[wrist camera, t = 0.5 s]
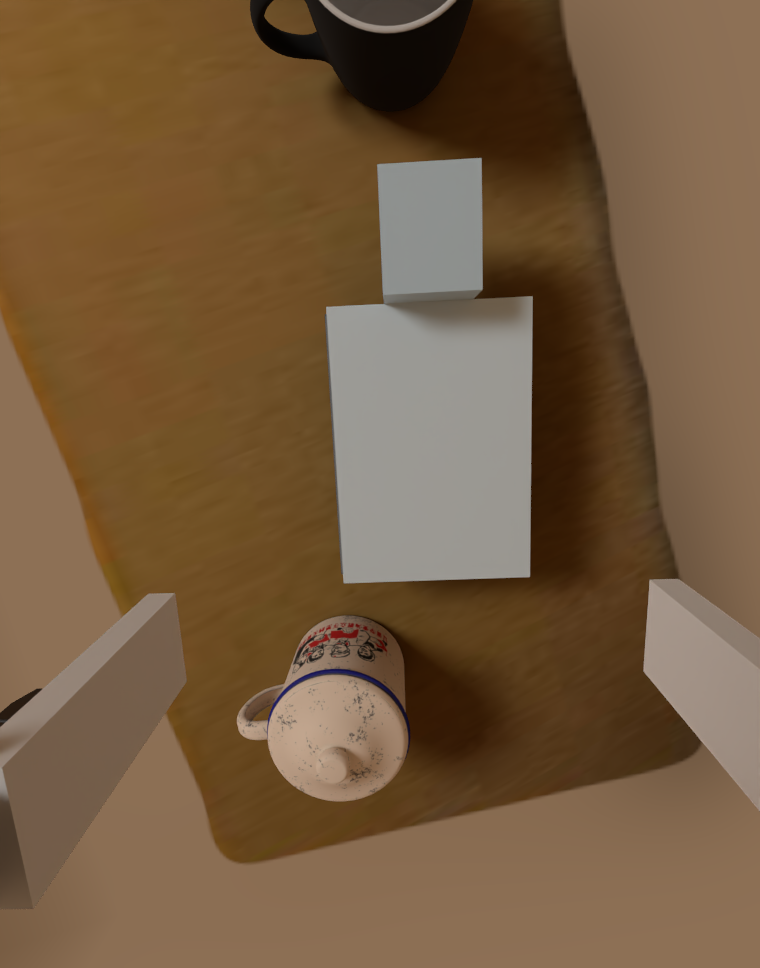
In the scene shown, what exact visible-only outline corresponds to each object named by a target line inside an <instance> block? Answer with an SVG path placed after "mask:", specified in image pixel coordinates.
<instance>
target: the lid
mask: <svg viewBox="0 0 760 968" xmlns="http://www.w3.org/2000/svg"><path fill="white" fill-rule="evenodd" d="M377 167H378V190H379V214H380V237H381V260H382V283H383V298H384V304H374V305H355V306H336V307H326V312H327V328H328V344H329V359H330V375H331V391H332V407H333V422H334V438H335V454H336V469H337V485H338V501H339V516H340V532H341V548H342V564H343V579H344V583H367V582H397V581H427V580H457V579H487V578H517V577H530V531H531V427H532V323H533V296H525V297H506V298H487V299H474V298H475V297H476V296H477V295H478V294H479V293H480V292H481V291H482V290H483V262H482V158H470V159H454V160H438V161H422V162H406V163H390V164H377Z"/></svg>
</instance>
